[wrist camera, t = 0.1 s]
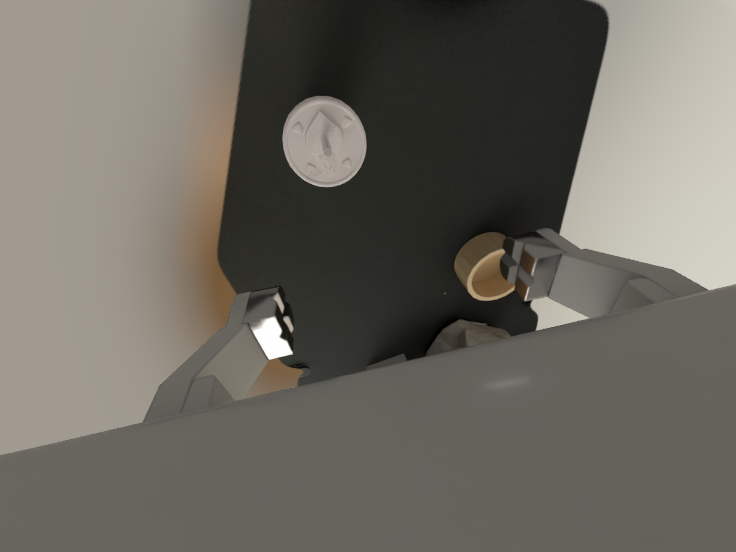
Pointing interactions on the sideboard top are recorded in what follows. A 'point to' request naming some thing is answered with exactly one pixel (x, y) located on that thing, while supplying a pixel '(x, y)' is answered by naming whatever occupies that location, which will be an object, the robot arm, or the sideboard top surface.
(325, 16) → the sideboard top surface
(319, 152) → the smoothie
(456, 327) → the stone
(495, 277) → the tan hollow round container
